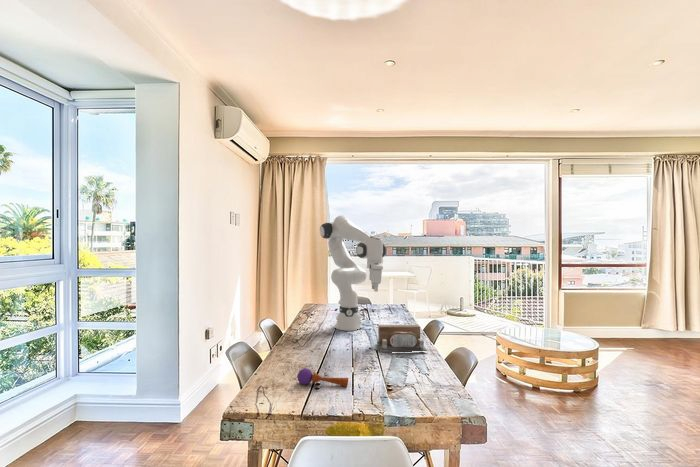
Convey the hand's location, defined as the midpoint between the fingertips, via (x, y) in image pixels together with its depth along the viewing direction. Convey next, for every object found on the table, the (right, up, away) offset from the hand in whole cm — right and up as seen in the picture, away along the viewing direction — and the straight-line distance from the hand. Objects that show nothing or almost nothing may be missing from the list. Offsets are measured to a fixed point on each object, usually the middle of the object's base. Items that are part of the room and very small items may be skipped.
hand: (374, 290), depth 193 cm
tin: (+14, -28, -14) cm, 34 cm away
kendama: (-24, -28, -57) cm, 68 cm away
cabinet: (+13, -29, -10) cm, 33 cm away
